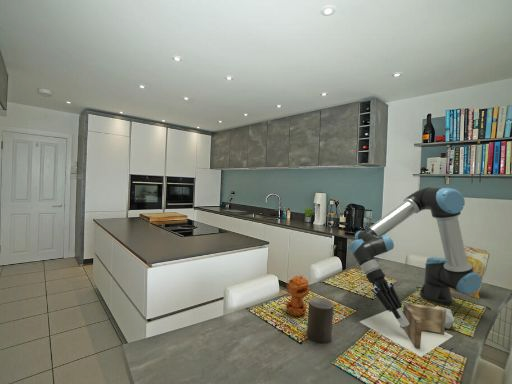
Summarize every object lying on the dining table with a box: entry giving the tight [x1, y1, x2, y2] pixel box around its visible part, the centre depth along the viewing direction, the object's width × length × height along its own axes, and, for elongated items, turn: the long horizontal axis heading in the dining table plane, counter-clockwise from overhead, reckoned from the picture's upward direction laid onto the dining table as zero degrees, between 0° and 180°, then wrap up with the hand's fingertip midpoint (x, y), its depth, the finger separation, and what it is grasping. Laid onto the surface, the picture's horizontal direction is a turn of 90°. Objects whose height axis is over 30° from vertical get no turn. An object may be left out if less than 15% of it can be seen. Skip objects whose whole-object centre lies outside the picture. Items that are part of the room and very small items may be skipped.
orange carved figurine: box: [285, 274, 311, 317], centre depth 121 cm, size 11×11×18 cm
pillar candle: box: [306, 297, 334, 344], centre depth 104 cm, size 10×10×15 cm
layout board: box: [358, 309, 454, 359], centre depth 112 cm, size 27×26×1 cm
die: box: [435, 305, 455, 330], centre depth 117 cm, size 8×9×10 cm
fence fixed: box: [402, 302, 447, 335], centre depth 111 cm, size 16×2×10 cm, turn 78°
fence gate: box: [404, 305, 422, 349], centre depth 105 cm, size 14×2×10 cm, turn 167°
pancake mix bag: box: [450, 245, 490, 299], centre depth 156 cm, size 7×19×28 cm, turn 24°
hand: (405, 325), depth 105 cm, fingers closed
